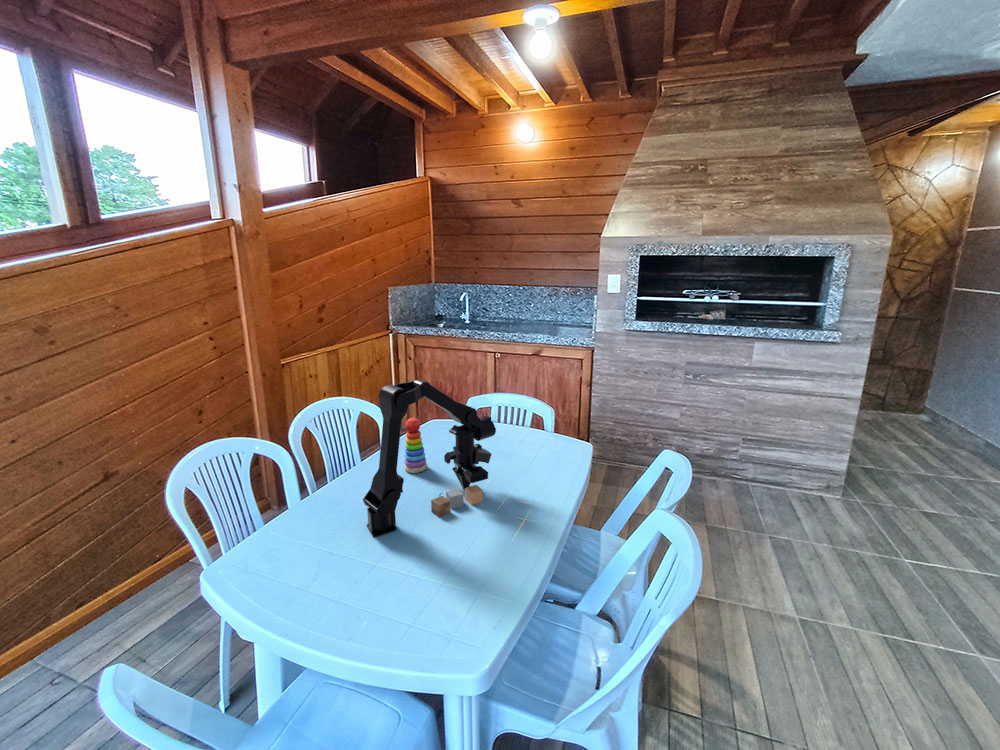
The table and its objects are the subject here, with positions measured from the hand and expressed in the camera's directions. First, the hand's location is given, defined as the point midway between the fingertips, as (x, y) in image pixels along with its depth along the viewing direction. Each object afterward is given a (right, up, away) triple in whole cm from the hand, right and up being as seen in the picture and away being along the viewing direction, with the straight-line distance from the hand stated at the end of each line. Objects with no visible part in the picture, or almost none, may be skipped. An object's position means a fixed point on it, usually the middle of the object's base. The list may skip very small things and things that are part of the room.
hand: (465, 490), depth 150 cm
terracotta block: (+3, -2, -4) cm, 5 cm away
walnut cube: (-7, -4, -11) cm, 13 cm away
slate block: (-3, -3, -6) cm, 7 cm away
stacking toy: (-19, +3, +17) cm, 26 cm away
